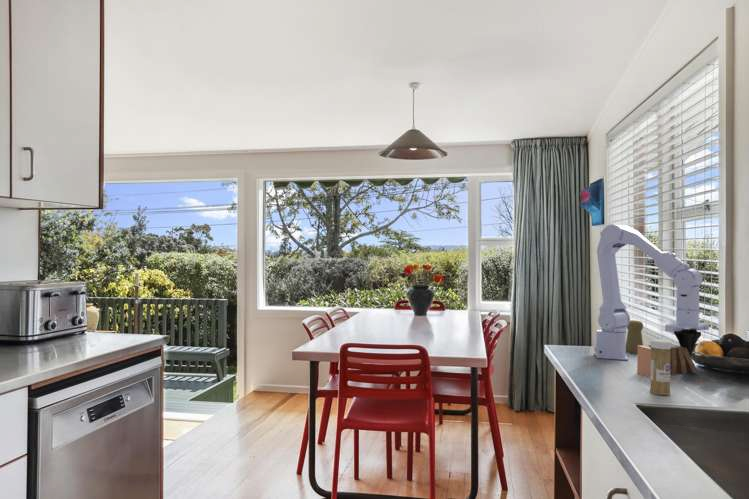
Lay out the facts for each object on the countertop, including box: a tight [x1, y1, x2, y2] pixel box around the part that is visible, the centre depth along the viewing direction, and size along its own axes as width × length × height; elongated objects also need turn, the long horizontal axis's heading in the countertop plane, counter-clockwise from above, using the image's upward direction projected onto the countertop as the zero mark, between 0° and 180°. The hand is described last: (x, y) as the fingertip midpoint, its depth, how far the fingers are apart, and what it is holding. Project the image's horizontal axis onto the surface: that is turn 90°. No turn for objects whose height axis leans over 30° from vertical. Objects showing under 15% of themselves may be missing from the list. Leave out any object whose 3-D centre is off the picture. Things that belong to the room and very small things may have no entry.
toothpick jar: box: [649, 338, 672, 396], centre depth 127 cm, size 5×5×14 cm
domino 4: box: [682, 347, 698, 374], centre depth 149 cm, size 2×4×8 cm
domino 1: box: [636, 345, 651, 378], centre depth 145 cm, size 2×4×8 cm, turn 16°
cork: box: [626, 319, 644, 355], centre depth 176 cm, size 6×6×11 cm
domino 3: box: [671, 343, 688, 375], centre depth 148 cm, size 2×4×8 cm, turn 16°
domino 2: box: [670, 346, 677, 376], centre depth 147 cm, size 2×4×8 cm, turn 16°
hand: (686, 355), depth 149 cm, fingers closed
